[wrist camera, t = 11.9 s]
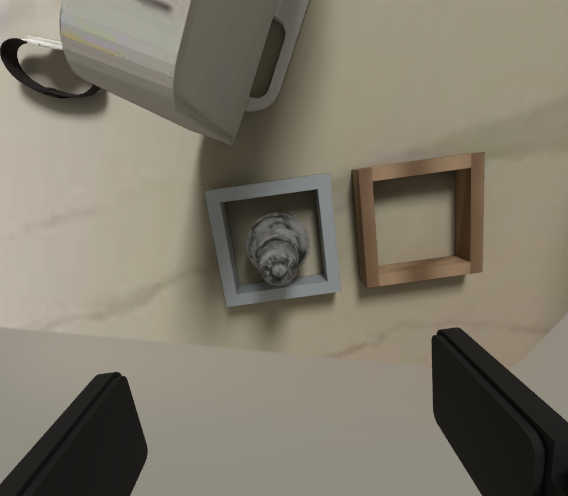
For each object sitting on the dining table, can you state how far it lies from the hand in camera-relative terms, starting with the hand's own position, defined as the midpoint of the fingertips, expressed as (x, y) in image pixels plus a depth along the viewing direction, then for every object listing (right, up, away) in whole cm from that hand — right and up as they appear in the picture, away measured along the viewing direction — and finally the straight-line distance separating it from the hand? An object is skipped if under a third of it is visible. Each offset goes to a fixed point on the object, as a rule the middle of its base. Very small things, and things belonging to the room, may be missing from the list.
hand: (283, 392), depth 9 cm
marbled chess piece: (-1, +5, +23) cm, 23 cm away
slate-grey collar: (-1, +5, +23) cm, 23 cm away
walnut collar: (+13, +7, +22) cm, 27 cm away
